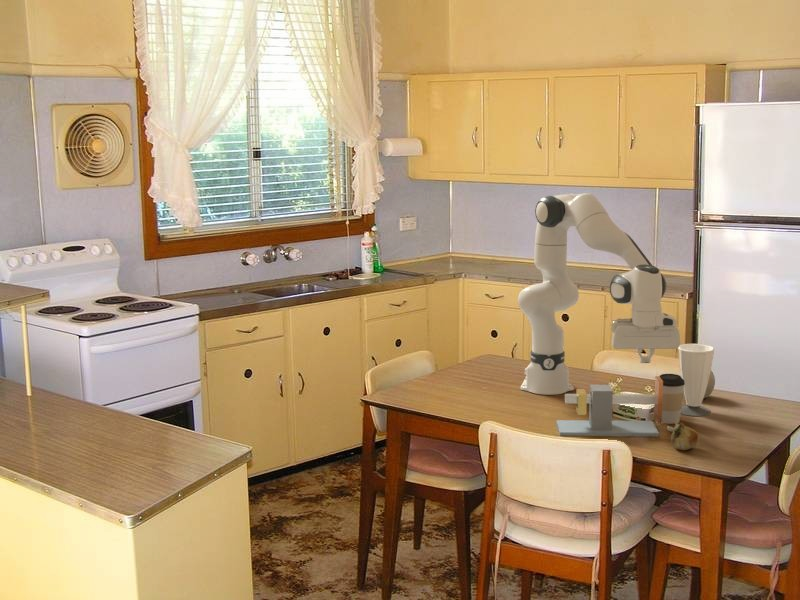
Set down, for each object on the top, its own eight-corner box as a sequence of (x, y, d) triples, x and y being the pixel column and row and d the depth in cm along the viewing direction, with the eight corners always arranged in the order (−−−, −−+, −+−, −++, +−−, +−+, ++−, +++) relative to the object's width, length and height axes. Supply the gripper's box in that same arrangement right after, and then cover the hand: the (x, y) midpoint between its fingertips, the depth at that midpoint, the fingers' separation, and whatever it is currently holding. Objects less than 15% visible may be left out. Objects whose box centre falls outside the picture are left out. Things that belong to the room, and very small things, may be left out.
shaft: (563, 417, 309) (564, 375, 306) (657, 417, 307) (659, 376, 304) (565, 423, 303) (566, 381, 300) (661, 423, 301) (663, 381, 298)
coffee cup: (648, 420, 314) (650, 375, 311) (663, 414, 320) (665, 369, 317) (673, 426, 308) (675, 380, 305) (688, 420, 314) (690, 374, 311)
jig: (556, 423, 312) (557, 382, 310) (651, 424, 310) (653, 382, 308) (559, 435, 301) (560, 393, 298) (659, 436, 299) (660, 393, 296)
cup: (687, 418, 316) (690, 353, 312) (668, 407, 327) (671, 345, 323) (718, 414, 319) (721, 350, 315) (698, 404, 330) (701, 342, 326)
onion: (686, 455, 282) (687, 429, 281) (664, 448, 289) (665, 422, 287) (702, 450, 287) (704, 423, 285) (680, 442, 293) (681, 417, 291)
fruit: (682, 401, 333) (683, 359, 331) (682, 392, 344) (684, 351, 341) (714, 404, 330) (716, 361, 328) (714, 394, 341) (716, 353, 338)
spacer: (576, 409, 308) (576, 389, 307) (584, 409, 308) (584, 389, 307) (578, 414, 302) (578, 394, 301) (586, 414, 302) (586, 394, 301)
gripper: (613, 320, 296) (612, 365, 298) (682, 320, 294) (680, 365, 297) (610, 316, 302) (609, 360, 304) (677, 316, 300) (676, 360, 303)
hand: (645, 362), depth 301 cm, fingers closed
